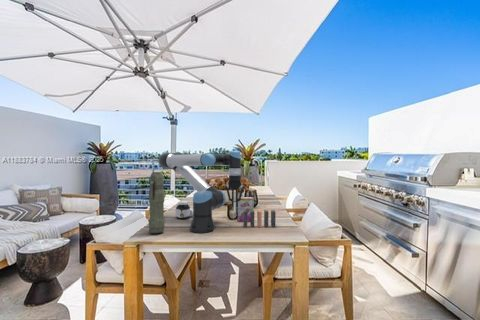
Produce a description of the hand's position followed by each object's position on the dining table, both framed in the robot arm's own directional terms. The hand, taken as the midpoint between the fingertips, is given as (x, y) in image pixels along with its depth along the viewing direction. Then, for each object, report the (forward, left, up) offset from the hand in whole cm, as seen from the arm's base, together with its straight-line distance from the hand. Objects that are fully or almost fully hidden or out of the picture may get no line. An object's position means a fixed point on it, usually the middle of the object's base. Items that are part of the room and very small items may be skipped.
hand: (234, 211), depth 160 cm
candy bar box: (+8, +14, -10) cm, 19 cm away
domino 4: (+20, 0, -10) cm, 23 cm away
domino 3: (+16, 0, -10) cm, 19 cm away
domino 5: (+25, 0, -10) cm, 27 cm away
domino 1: (+7, 0, -10) cm, 12 cm away
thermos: (-47, -9, -10) cm, 49 cm away
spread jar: (-36, +25, -10) cm, 45 cm away
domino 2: (+11, 0, -10) cm, 15 cm away
